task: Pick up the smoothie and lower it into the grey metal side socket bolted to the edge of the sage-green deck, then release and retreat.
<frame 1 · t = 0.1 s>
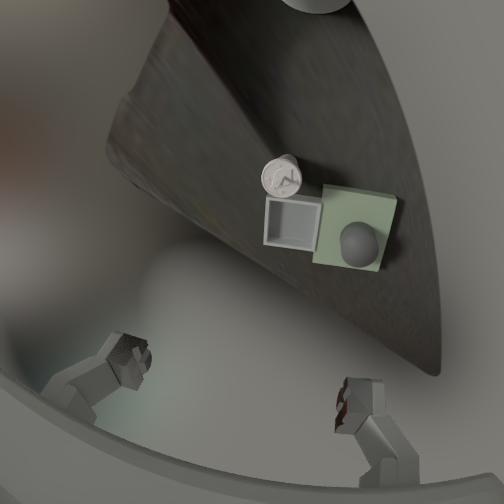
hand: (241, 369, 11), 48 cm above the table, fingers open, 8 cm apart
deck: (352, 226, 58), on the table
smoothie: (287, 163, 54), on the table
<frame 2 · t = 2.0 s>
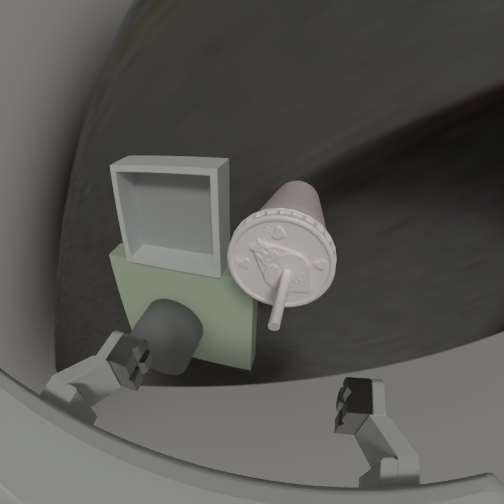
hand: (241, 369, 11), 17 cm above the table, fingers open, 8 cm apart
deck: (189, 303, 35), on the table
smoothie: (297, 200, 25), on the table
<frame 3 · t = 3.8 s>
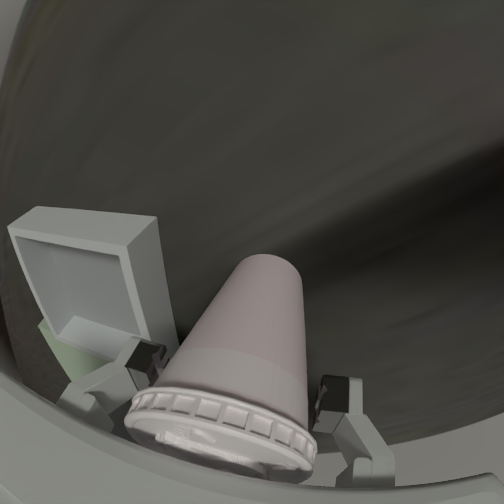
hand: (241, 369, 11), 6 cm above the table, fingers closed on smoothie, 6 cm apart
deck: (141, 380, 25), on the table
smoothie: (267, 281, 16), on the table, touching gripper
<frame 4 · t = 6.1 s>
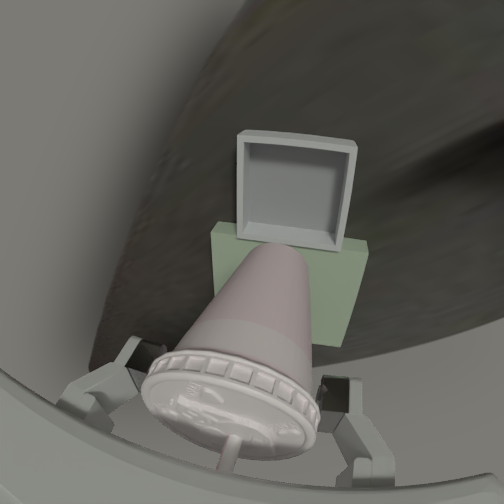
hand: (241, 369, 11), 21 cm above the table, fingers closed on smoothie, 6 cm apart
deck: (286, 283, 36), on the table
smoothie: (276, 269, 17), point 14 cm above the table, touching gripper
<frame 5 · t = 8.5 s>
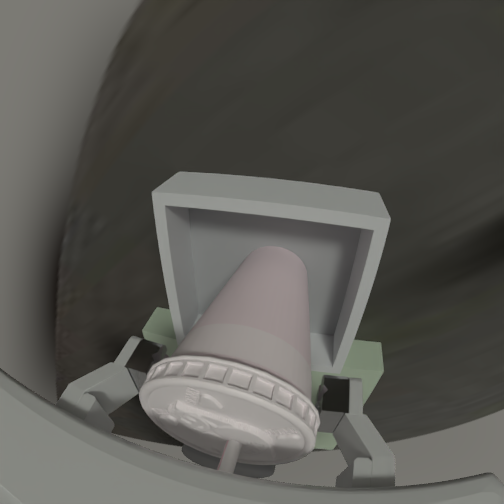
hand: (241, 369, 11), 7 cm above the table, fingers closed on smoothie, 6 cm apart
deck: (260, 383, 24), on the table
smoothie: (274, 272, 17), resting on deck, touching gripper
when the fingers open (7 cm above the table, at t = 9.8 s): smoothie stays where it is, resting on deck.
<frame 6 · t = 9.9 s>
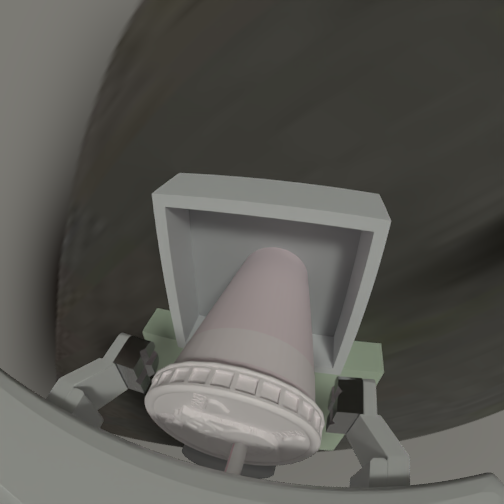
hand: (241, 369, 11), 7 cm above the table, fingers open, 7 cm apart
deck: (261, 384, 24), on the table
smoothie: (275, 273, 17), resting on deck
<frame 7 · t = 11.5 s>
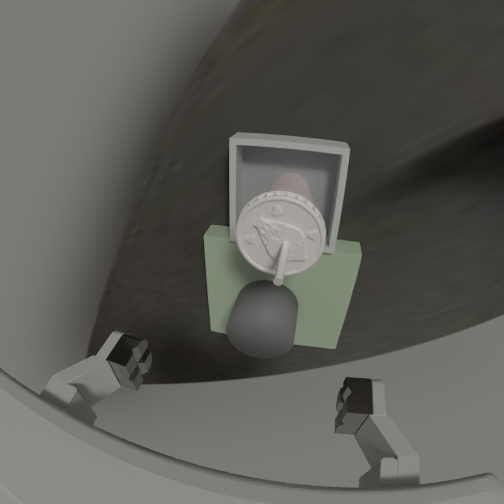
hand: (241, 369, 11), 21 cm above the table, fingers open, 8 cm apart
deck: (279, 285, 36), on the table
smoothie: (291, 190, 29), resting on deck
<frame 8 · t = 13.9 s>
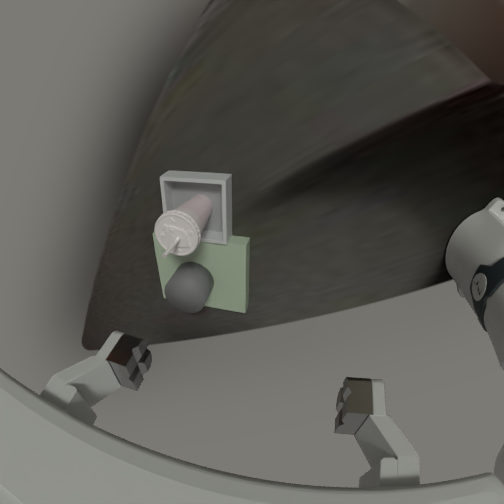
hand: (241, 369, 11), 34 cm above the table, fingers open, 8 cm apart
deck: (204, 266, 53), on the table
smoothie: (201, 205, 47), resting on deck
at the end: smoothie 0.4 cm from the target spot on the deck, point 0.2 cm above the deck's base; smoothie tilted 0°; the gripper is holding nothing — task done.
